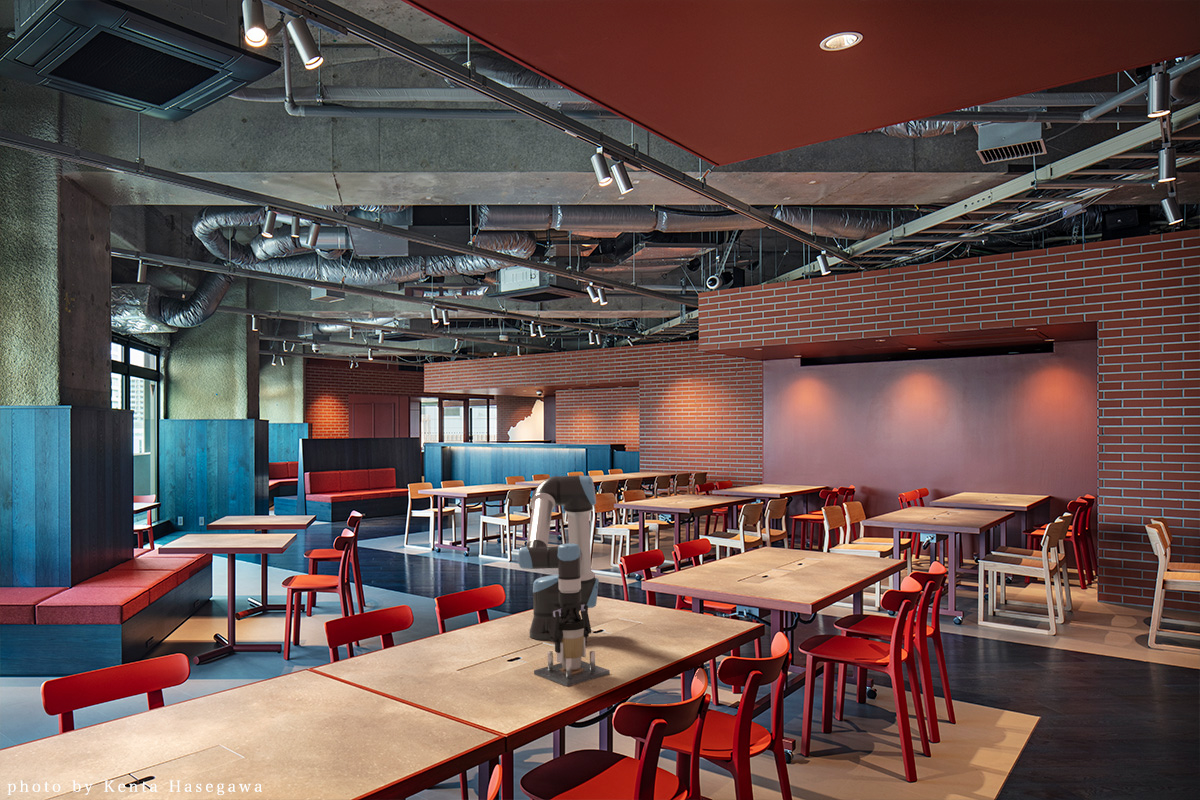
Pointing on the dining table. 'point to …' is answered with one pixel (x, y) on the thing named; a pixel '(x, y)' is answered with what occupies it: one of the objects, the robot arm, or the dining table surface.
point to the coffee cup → (572, 641)
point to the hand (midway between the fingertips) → (571, 659)
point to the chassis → (571, 671)
